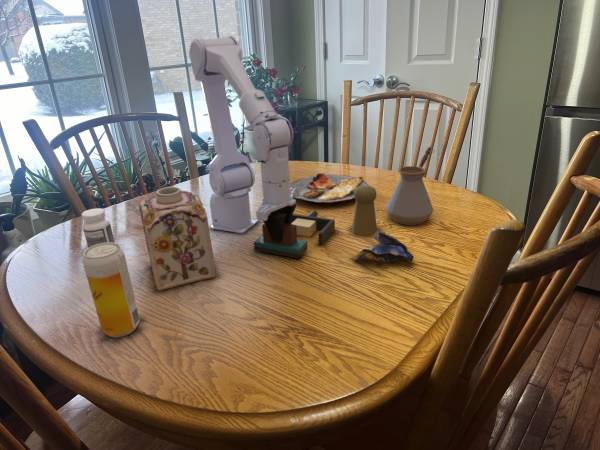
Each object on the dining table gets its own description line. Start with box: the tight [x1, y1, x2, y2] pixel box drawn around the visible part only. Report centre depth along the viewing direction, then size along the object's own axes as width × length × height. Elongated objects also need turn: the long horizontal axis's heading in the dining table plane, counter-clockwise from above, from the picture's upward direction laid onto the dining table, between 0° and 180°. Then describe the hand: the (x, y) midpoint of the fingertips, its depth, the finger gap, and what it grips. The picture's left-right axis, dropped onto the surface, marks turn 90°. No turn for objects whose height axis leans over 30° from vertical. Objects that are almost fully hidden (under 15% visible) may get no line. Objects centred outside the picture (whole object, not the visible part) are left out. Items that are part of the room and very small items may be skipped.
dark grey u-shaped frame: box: [290, 210, 336, 246], centre depth 107 cm, size 15×13×3 cm
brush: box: [253, 222, 309, 259], centre depth 95 cm, size 11×4×6 cm, turn 65°
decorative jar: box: [138, 186, 217, 291], centre depth 87 cm, size 12×12×18 cm
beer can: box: [81, 242, 140, 338], centre depth 71 cm, size 6×6×15 cm
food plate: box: [290, 172, 370, 204], centre depth 129 cm, size 25×23×4 cm
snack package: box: [352, 230, 415, 262], centre depth 91 cm, size 12×6×12 cm
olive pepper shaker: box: [351, 185, 378, 237], centre depth 103 cm, size 6×6×11 cm
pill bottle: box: [81, 207, 116, 248], centre depth 99 cm, size 6×6×10 cm
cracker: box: [291, 218, 317, 237], centre depth 106 cm, size 5×4×2 cm
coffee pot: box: [385, 146, 436, 226], centre depth 111 cm, size 21×12×15 cm, turn 149°
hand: (279, 238), depth 96 cm, fingers closed on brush, 2 cm apart
